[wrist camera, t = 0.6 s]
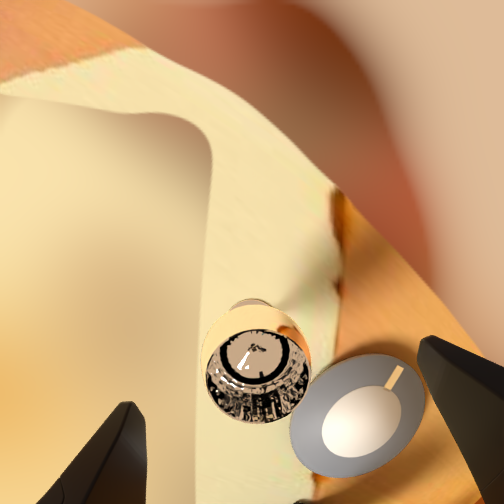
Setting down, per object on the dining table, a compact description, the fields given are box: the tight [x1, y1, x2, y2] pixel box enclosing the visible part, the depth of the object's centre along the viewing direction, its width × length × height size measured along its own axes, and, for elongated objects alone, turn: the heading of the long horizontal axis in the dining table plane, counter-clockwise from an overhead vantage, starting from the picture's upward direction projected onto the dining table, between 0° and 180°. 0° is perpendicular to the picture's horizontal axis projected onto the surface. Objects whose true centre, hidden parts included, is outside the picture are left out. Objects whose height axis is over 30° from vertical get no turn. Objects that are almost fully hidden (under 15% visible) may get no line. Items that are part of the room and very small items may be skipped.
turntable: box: [289, 353, 425, 478], centre depth 23 cm, size 13×13×1 cm
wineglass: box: [201, 299, 312, 424], centre depth 19 cm, size 6×6×12 cm
